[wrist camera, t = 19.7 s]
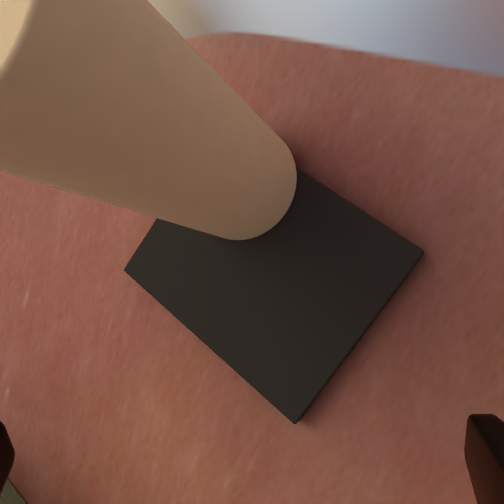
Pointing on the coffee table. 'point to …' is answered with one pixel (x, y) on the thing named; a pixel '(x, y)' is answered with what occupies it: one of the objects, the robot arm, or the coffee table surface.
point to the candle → (134, 118)
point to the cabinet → (10, 495)
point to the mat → (280, 290)
